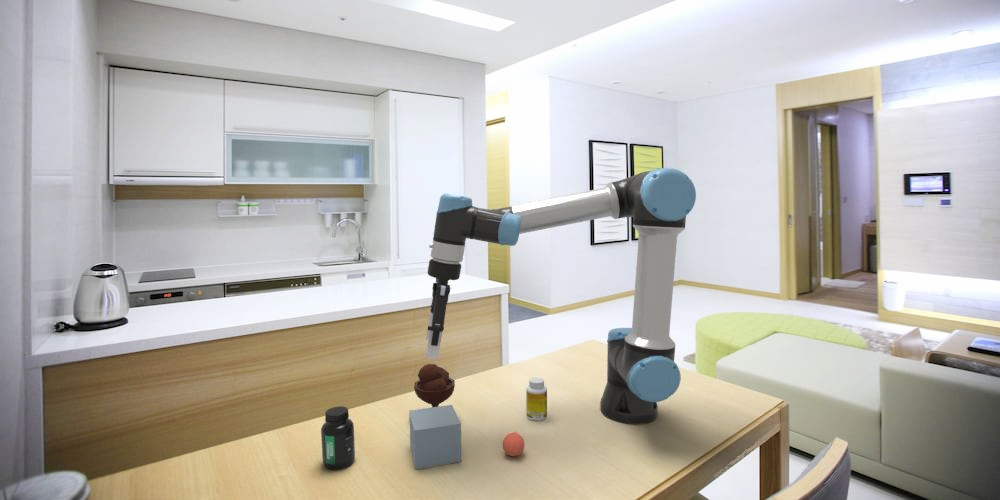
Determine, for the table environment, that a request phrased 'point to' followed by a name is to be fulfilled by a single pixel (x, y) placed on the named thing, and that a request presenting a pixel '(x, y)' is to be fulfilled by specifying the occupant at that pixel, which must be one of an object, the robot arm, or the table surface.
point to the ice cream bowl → (434, 385)
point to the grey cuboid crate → (435, 436)
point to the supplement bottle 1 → (337, 439)
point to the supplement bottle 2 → (536, 399)
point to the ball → (513, 444)
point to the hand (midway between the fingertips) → (431, 348)
